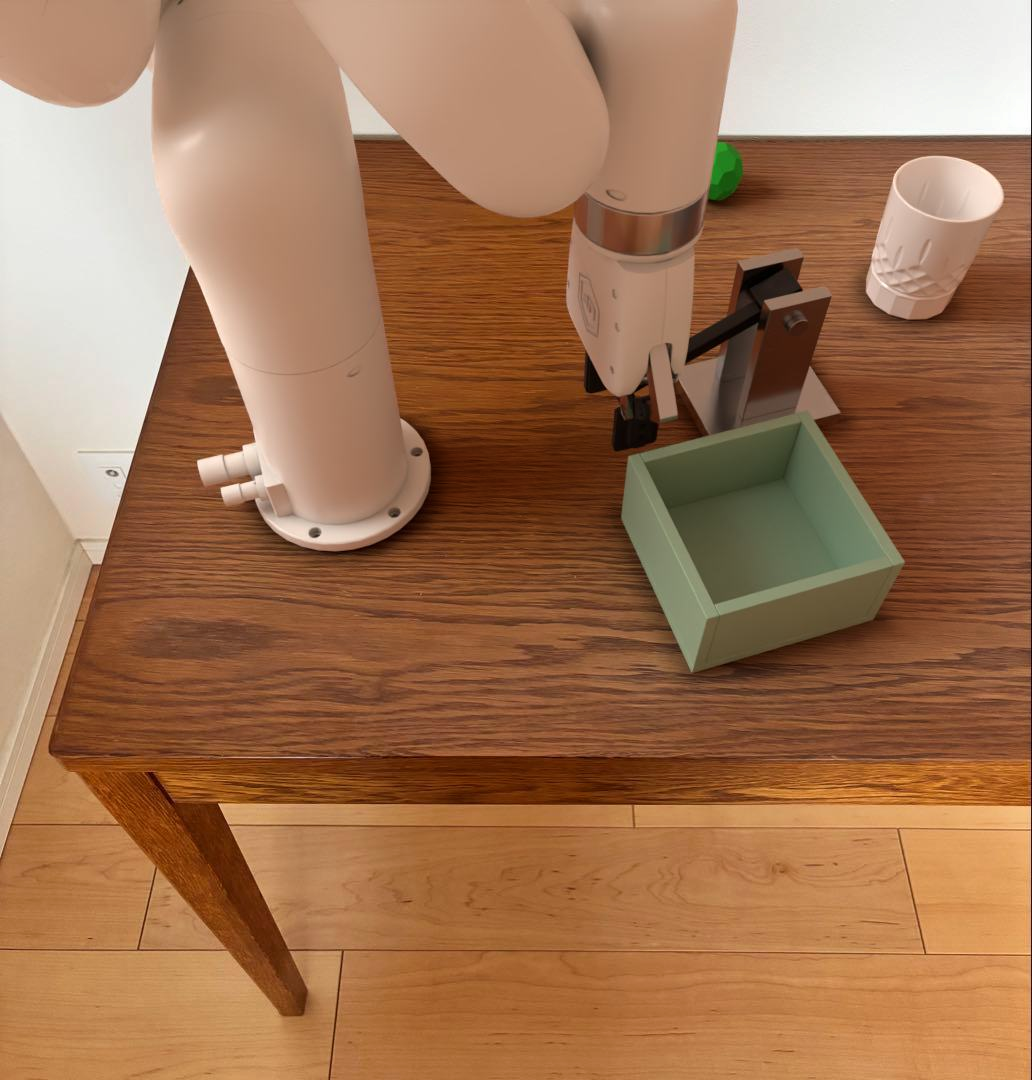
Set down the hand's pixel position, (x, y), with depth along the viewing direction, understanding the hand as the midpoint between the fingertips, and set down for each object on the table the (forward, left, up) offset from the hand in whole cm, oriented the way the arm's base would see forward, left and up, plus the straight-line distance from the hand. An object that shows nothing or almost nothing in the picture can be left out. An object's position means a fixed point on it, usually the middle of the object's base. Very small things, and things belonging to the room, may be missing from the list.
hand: (619, 413), depth 71 cm
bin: (+4, -13, -2) cm, 14 cm away
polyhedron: (+18, +24, -3) cm, 30 cm away
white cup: (+28, +7, -3) cm, 29 cm away
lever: (+6, 0, +4) cm, 8 cm away
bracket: (+11, 0, -2) cm, 11 cm away
